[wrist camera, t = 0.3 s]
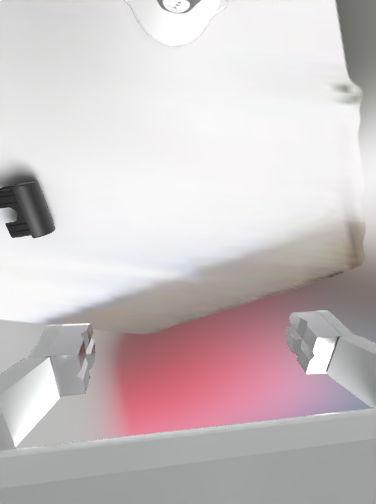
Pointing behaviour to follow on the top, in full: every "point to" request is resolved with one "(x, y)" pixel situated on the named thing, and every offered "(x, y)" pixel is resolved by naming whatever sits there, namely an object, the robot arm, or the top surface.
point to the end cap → (27, 210)
